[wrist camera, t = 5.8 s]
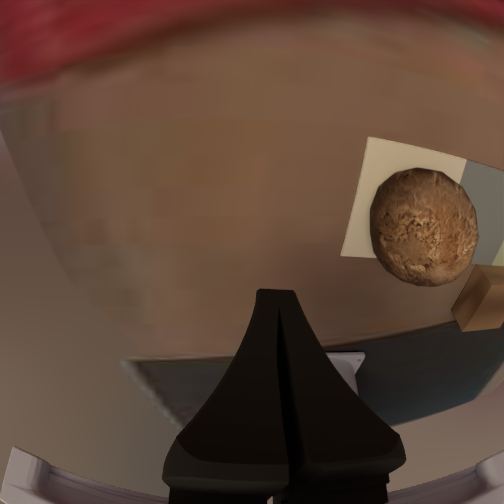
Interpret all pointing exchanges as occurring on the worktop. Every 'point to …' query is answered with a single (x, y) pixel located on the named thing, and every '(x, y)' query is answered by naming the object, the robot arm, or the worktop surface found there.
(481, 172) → the board
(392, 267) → the mushroom
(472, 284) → the plinth
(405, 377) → the worktop surface
